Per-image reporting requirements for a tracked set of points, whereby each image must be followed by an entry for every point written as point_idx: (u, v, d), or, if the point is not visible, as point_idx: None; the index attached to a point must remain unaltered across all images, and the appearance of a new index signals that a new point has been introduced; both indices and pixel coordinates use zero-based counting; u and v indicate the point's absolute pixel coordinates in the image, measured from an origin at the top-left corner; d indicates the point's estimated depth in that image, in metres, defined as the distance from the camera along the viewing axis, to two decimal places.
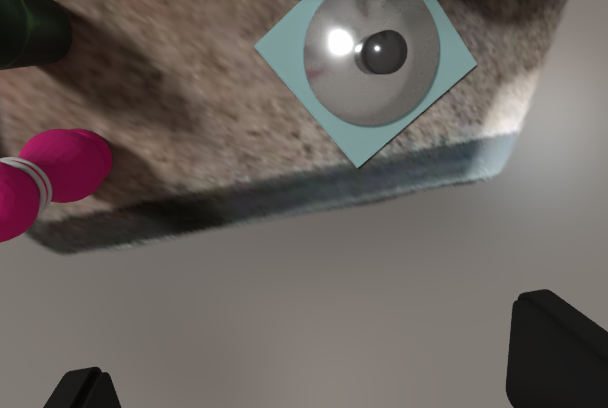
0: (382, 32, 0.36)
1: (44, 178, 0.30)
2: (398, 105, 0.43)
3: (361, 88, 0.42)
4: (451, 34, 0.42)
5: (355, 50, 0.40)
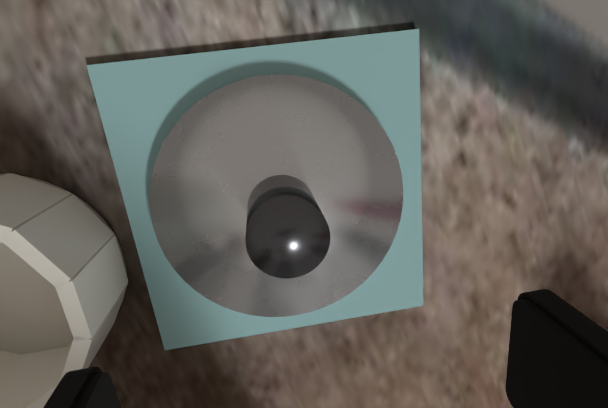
0: (278, 275, 0.18)
1: None
2: (284, 97, 0.21)
3: (328, 169, 0.22)
4: (122, 151, 0.21)
5: None
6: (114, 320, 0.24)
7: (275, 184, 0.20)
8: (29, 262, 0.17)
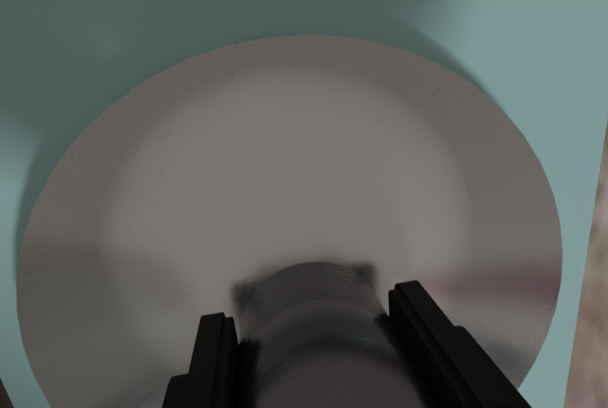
0: None
1: None
2: (326, 90, 0.09)
3: (415, 247, 0.10)
4: None
5: None
6: None
7: (307, 308, 0.08)
8: None
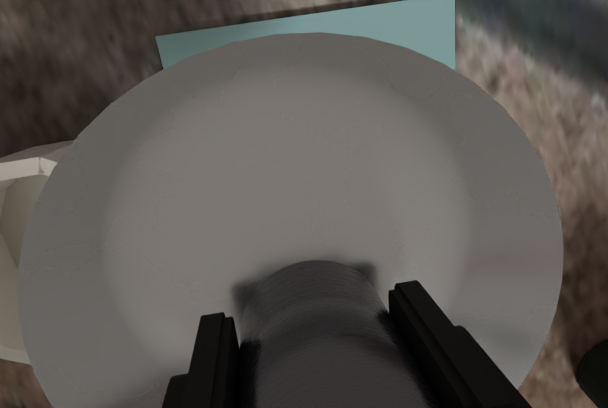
0: None
1: None
2: (327, 88, 0.09)
3: (416, 245, 0.10)
4: None
5: None
6: None
7: (308, 306, 0.08)
8: None
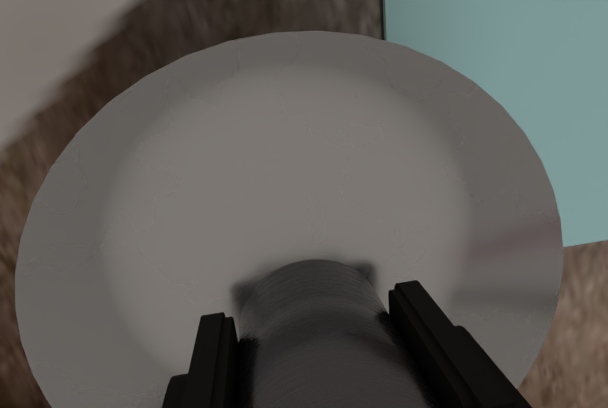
0: None
1: None
2: (326, 87, 0.09)
3: (415, 244, 0.10)
4: None
5: None
6: None
7: (306, 305, 0.08)
8: None
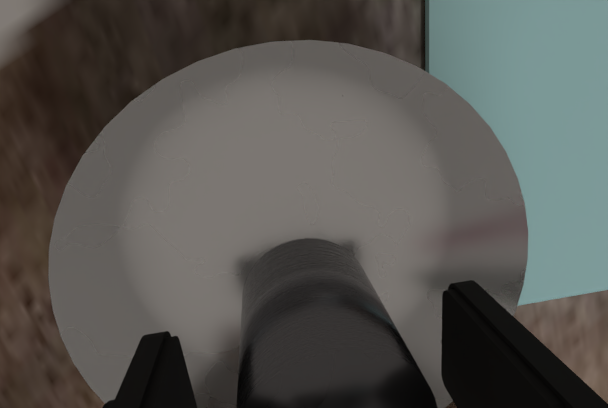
0: None
1: None
2: (317, 87, 0.10)
3: (396, 225, 0.12)
4: (442, 63, 0.17)
5: None
6: None
7: (300, 273, 0.09)
8: None
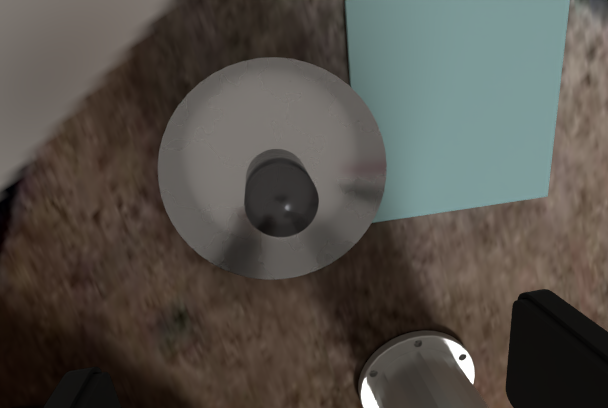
0: (273, 234, 0.21)
1: None
2: (279, 77, 0.23)
3: (319, 143, 0.25)
4: (357, 65, 0.30)
5: None
6: None
7: (270, 156, 0.22)
8: None
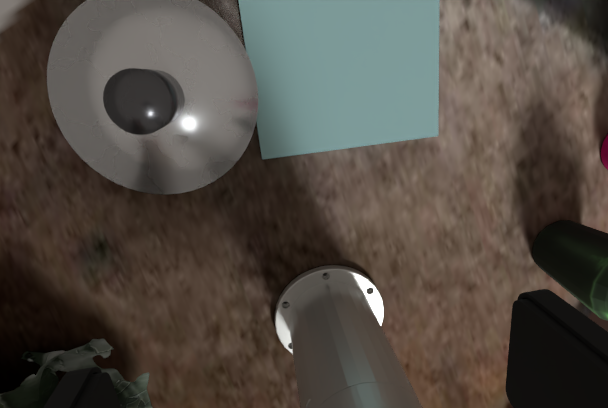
0: (133, 131, 0.24)
1: None
2: (150, 3, 0.26)
3: (192, 65, 0.28)
4: (246, 7, 0.33)
5: (177, 118, 0.29)
6: None
7: None
8: None
